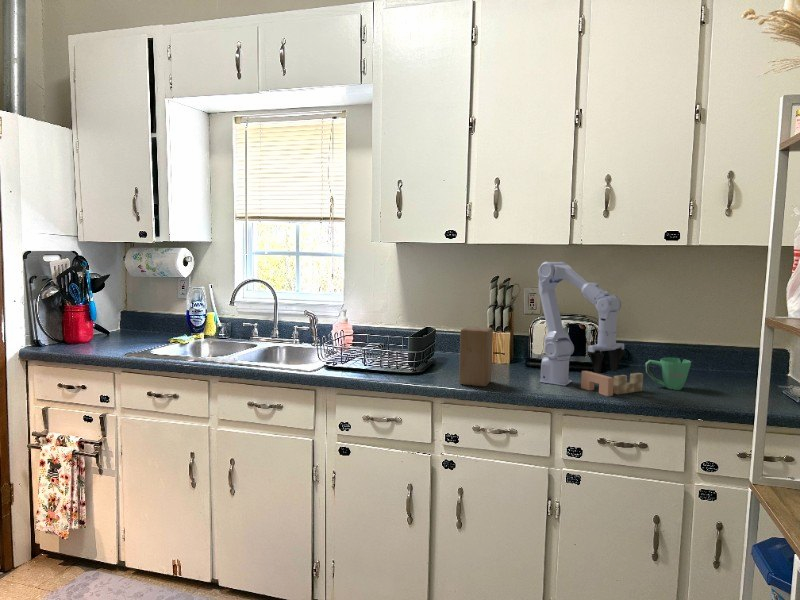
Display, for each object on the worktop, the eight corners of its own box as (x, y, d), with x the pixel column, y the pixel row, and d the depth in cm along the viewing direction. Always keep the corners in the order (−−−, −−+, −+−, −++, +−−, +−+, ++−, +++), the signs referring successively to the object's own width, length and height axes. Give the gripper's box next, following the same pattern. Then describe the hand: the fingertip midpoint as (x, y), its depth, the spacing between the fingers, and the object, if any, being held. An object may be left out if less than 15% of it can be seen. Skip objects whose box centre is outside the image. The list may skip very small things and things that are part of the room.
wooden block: (458, 384, 200) (459, 329, 198) (465, 378, 210) (466, 325, 208) (486, 387, 197) (487, 330, 195) (491, 381, 206) (493, 327, 204)
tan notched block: (617, 394, 190) (618, 376, 190) (613, 393, 192) (613, 375, 191) (642, 390, 196) (643, 373, 195) (637, 389, 197) (638, 372, 197)
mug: (686, 386, 203) (688, 358, 202) (691, 392, 194) (693, 364, 193) (642, 382, 208) (644, 355, 207) (645, 388, 198) (647, 360, 197)
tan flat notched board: (612, 395, 189) (613, 377, 188) (607, 396, 188) (608, 378, 187) (586, 387, 200) (586, 370, 199) (580, 387, 198) (581, 371, 198)
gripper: (600, 334, 182) (598, 376, 183) (632, 332, 188) (630, 372, 189) (584, 331, 188) (582, 371, 189) (615, 329, 195) (613, 368, 196)
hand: (605, 371), depth 190 cm, fingers open, 7 cm apart
